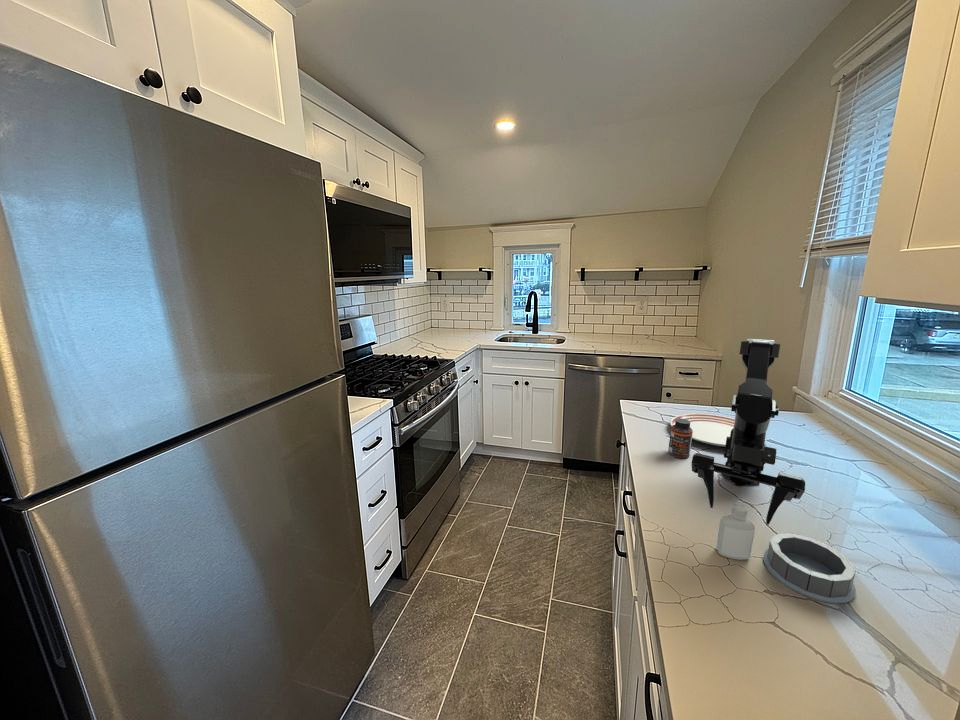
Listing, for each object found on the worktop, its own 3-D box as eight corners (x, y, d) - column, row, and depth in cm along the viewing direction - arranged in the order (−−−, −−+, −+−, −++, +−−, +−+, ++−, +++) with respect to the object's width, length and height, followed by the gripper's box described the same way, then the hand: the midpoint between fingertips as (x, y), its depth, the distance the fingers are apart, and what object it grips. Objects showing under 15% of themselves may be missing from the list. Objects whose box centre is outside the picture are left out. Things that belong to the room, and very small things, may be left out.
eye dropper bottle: (747, 567, 71) (756, 512, 69) (713, 552, 75) (721, 500, 72) (751, 554, 75) (760, 502, 72) (718, 541, 78) (726, 491, 76)
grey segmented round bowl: (806, 546, 76) (810, 529, 75) (876, 600, 64) (882, 580, 63) (747, 550, 76) (750, 533, 75) (805, 606, 63) (810, 586, 62)
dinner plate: (659, 438, 127) (660, 429, 126) (680, 414, 147) (681, 406, 146) (758, 463, 109) (760, 453, 108) (767, 432, 129) (768, 423, 128)
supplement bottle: (669, 457, 113) (672, 423, 111) (667, 448, 119) (670, 415, 116) (691, 460, 111) (695, 425, 109) (688, 451, 117) (692, 418, 114)
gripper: (697, 418, 79) (684, 488, 73) (813, 439, 69) (808, 523, 62) (698, 438, 87) (685, 503, 81) (801, 460, 76) (796, 537, 70)
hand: (738, 515), depth 73 cm, fingers open, 9 cm apart
